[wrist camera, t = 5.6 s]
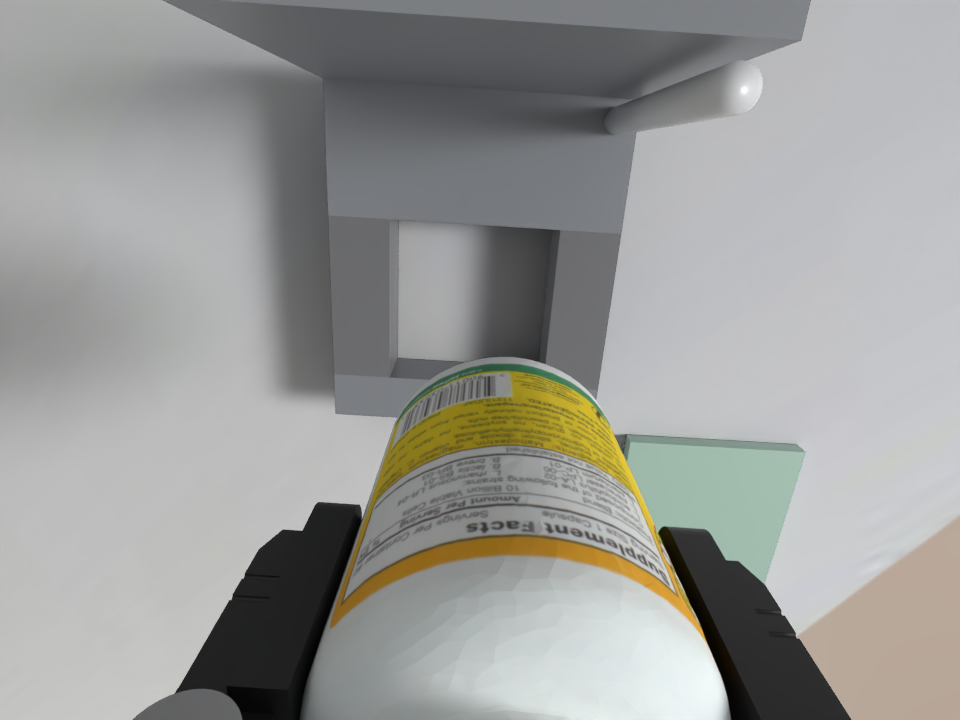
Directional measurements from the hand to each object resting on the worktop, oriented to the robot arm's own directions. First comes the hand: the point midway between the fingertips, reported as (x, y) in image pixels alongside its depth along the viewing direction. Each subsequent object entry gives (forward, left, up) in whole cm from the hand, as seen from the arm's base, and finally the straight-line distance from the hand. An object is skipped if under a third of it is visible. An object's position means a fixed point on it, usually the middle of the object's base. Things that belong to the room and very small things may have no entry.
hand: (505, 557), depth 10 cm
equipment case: (-2, -1, -17) cm, 17 cm away
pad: (+11, +12, -17) cm, 24 cm away
